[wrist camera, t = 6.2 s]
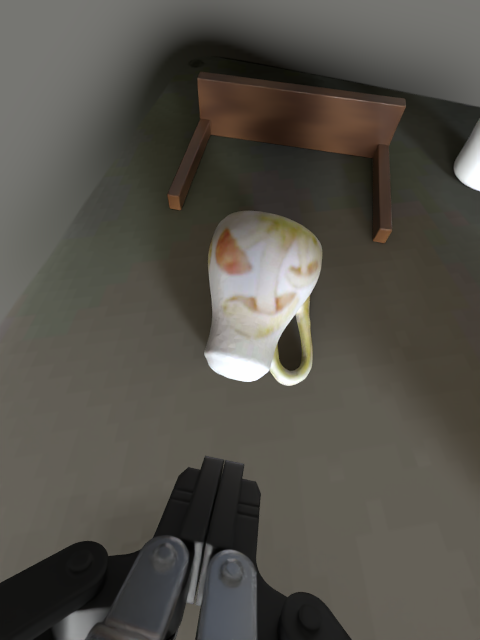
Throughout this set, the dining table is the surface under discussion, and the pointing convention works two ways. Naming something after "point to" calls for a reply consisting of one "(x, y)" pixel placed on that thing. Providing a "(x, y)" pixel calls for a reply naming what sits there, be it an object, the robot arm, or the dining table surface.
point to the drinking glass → (470, 160)
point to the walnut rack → (296, 128)
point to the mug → (260, 294)
